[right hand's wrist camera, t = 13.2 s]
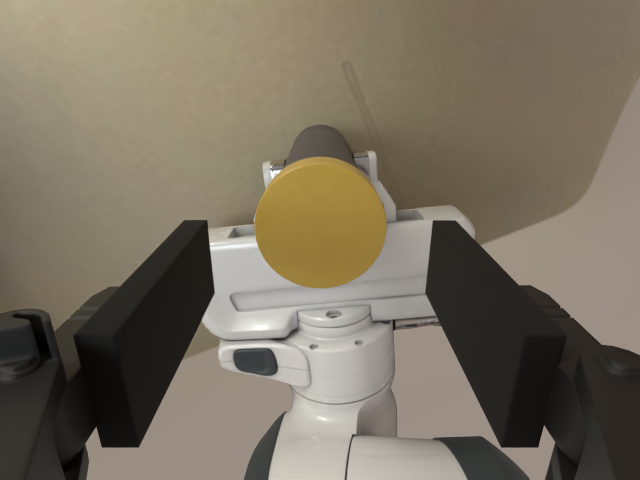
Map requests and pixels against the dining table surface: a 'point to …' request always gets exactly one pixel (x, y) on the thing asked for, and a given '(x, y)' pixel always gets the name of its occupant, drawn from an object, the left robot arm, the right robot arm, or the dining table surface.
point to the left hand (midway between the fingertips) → (318, 157)
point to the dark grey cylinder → (320, 145)
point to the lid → (320, 223)
